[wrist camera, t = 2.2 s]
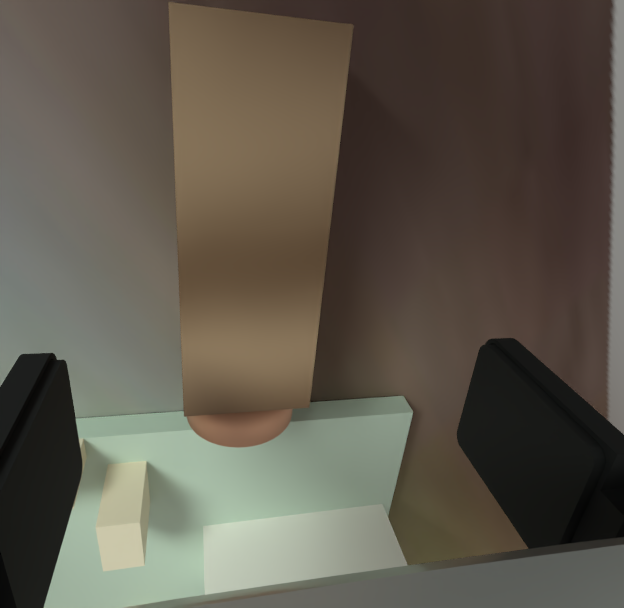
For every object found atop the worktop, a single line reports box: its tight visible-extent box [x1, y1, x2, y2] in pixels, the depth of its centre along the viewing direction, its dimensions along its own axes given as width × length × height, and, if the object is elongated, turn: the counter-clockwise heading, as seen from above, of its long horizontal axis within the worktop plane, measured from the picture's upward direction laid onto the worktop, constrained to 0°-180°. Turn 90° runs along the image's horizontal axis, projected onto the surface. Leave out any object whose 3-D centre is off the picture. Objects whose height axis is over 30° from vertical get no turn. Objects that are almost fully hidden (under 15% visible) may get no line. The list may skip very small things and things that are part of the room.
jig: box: [44, 396, 413, 608], centre depth 22 cm, size 15×24×4 cm, turn 85°
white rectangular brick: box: [203, 504, 408, 595], centre depth 22 cm, size 4×9×6 cm, turn 85°
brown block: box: [168, 2, 354, 448], centre depth 15 cm, size 13×4×5 cm, turn 175°
